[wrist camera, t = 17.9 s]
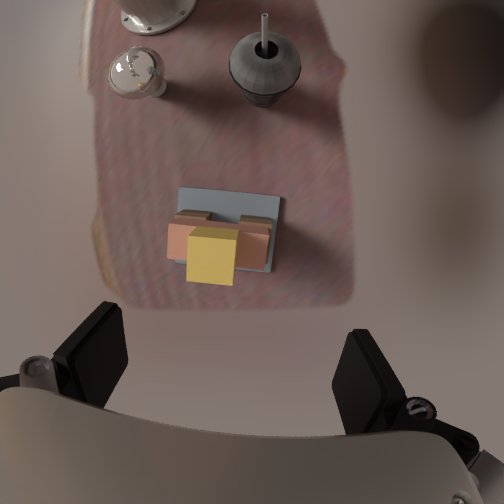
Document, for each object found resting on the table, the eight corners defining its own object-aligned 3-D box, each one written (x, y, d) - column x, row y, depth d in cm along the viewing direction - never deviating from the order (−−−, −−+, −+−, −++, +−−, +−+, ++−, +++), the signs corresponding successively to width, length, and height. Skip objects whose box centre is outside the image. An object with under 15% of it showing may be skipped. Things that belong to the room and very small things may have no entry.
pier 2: (241, 214, 39) (239, 221, 34) (270, 217, 39) (272, 224, 34) (237, 249, 40) (235, 260, 35) (265, 252, 40) (267, 263, 36)
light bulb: (128, 101, 35) (87, 83, 23) (151, 62, 33) (118, 32, 21) (165, 117, 36) (132, 100, 24) (190, 77, 34) (165, 45, 22)
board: (180, 186, 39) (178, 187, 38) (279, 196, 39) (280, 196, 38) (176, 260, 42) (175, 262, 41) (269, 270, 42) (270, 272, 41)
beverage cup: (242, 122, 36) (231, 77, 17) (230, 76, 34) (209, 3, 15) (294, 110, 35) (331, 60, 16) (280, 65, 33) (301, -12, 14)
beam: (267, 227, 34) (269, 235, 30) (263, 259, 35) (264, 270, 32) (178, 217, 34) (168, 223, 30) (176, 248, 35) (167, 258, 31)
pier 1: (184, 209, 39) (174, 214, 34) (212, 211, 39) (206, 217, 34) (182, 243, 40) (173, 253, 35) (209, 246, 40) (203, 257, 35)
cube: (197, 226, 30) (187, 235, 26) (238, 229, 30) (236, 240, 26) (195, 265, 31) (186, 280, 27) (235, 269, 32) (232, 285, 27)
